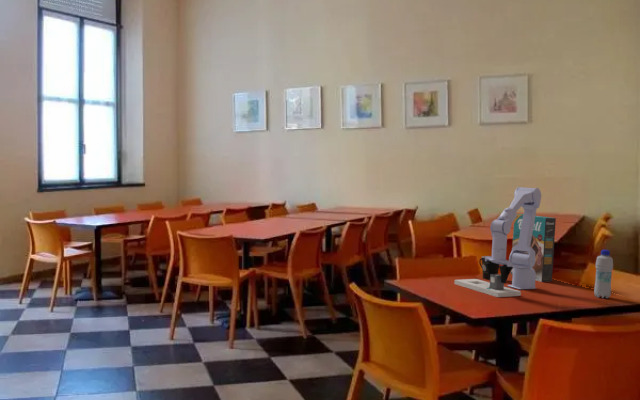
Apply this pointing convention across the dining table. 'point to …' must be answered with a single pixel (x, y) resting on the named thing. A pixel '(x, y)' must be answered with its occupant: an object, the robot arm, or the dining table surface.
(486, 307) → the dining table surface
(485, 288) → the panel
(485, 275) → the coffee mug
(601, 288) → the bottle
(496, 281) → the plug
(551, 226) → the cake mix box
